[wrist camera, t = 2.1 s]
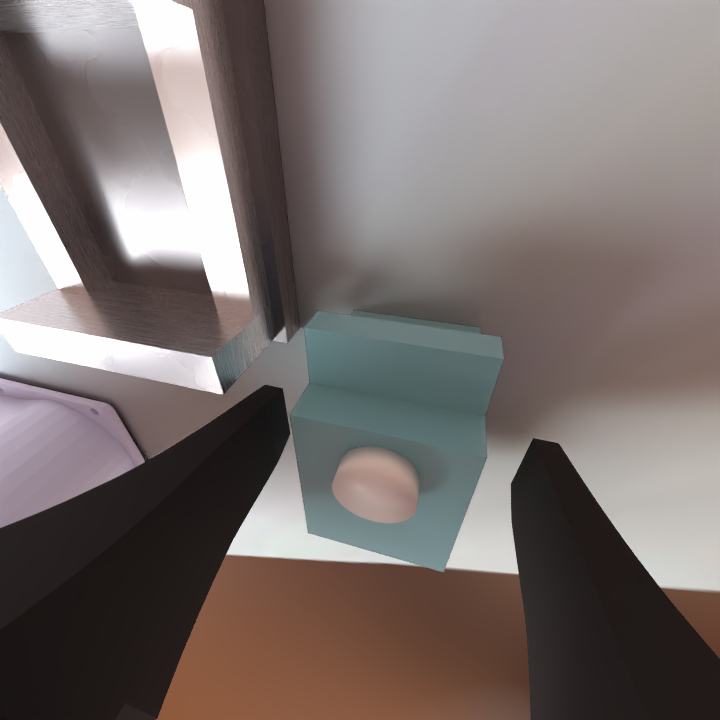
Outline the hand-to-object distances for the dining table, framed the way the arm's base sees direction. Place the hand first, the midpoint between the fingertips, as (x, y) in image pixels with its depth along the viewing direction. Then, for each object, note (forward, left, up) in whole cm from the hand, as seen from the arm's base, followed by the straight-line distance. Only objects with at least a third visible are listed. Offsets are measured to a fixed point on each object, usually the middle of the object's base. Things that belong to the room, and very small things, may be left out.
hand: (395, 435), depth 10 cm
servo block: (0, 0, -3) cm, 3 cm away
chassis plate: (-8, +6, -3) cm, 10 cm away
